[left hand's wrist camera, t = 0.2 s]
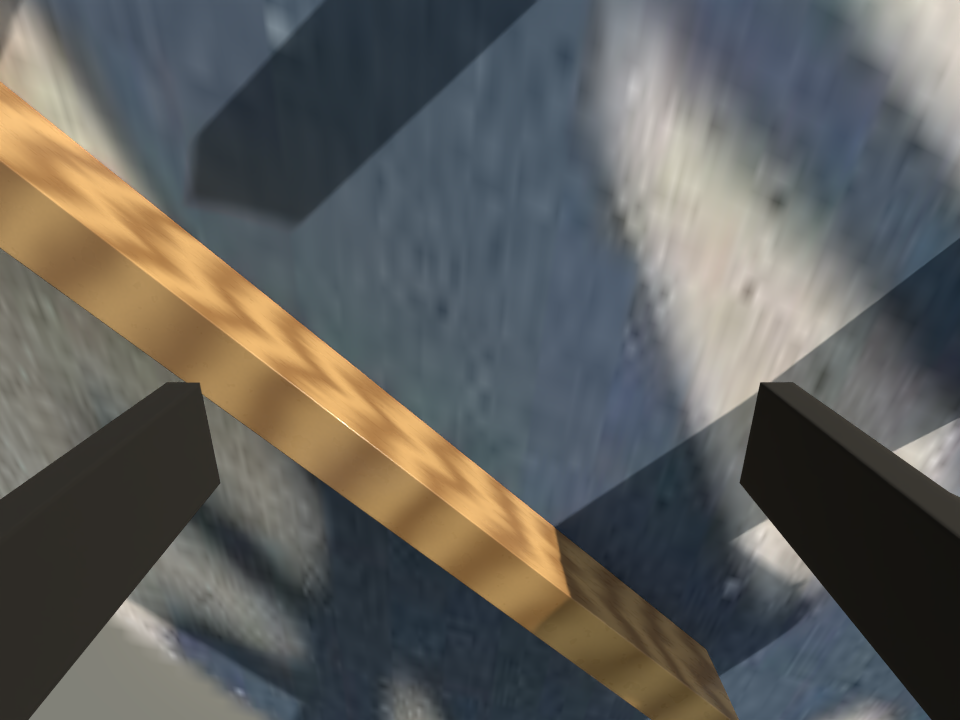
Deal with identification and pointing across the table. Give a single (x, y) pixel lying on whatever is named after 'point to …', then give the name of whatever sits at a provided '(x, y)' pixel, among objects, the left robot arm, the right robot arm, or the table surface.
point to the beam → (329, 416)
